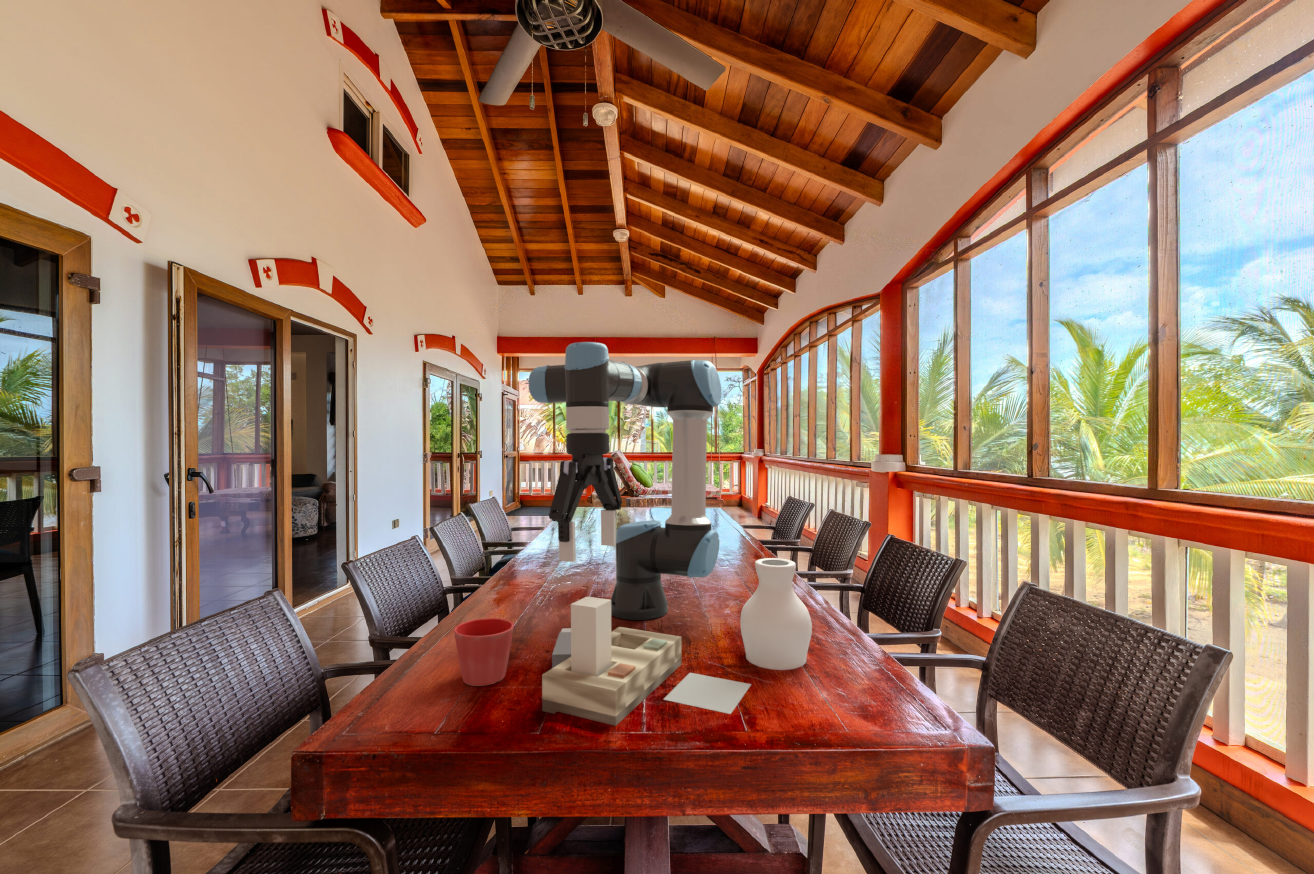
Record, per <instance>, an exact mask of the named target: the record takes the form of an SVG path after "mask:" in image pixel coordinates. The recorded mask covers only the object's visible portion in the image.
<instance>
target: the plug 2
mask: <svg viewBox="0 0 1314 874" xmlns="http://www.w3.org/2000/svg"><path fill="white" fill-rule="evenodd" d="M570 628H571V671H572V672H577V673H582V674H587V675H592V676H596V677H598V676H599V675H601V674H602V673H604V672H605V671H606V670H608V669H609V668H610V667H612V652H611V632H612V615H611V599H609V598H608V599H607V598H599V597H594V596H585V597H583V598H581V599H579V600H577V601H574V602H572V603H571V604H570Z"/></svg>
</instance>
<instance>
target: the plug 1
mask: <svg viewBox="0 0 1314 874" xmlns="http://www.w3.org/2000/svg"><path fill="white" fill-rule="evenodd" d="M570 657H571V627H568V628H566V627H565V628H561V631H560V632H559V633H558V635H557V638H556V641H555V644H554V648H553V651H552V654H551V669H552V668H554V667H555V666H557V665H559V664H560V663H562V662H563V661H565V660H567V659H568V658H570Z"/></svg>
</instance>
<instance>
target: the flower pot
mask: <svg viewBox="0 0 1314 874" xmlns="http://www.w3.org/2000/svg"><path fill="white" fill-rule="evenodd" d="M453 633H454V639H455V646H456V651H457V659H458V663H459V670H460V675H461V678H462V681H463V683H465V684H466V685H468V686H471V687H472V686H474V687H482V686H483V687H484V686H490V685H493V684H496V683H497V682H499V683H500V682H501V681H502V680H503V679H504V678H505V677H506V673H507V670H508V669H507V668H508V664H509V660H510V659H509V658H510V651H511V648H512V641H513V635H514V623H513V622H512V621H510V620H507V619H505V618H479V619H472V620H469V621H466V622H462V623H461V624H458V625H457V626H456V627H455V628H454V631H453Z"/></svg>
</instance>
